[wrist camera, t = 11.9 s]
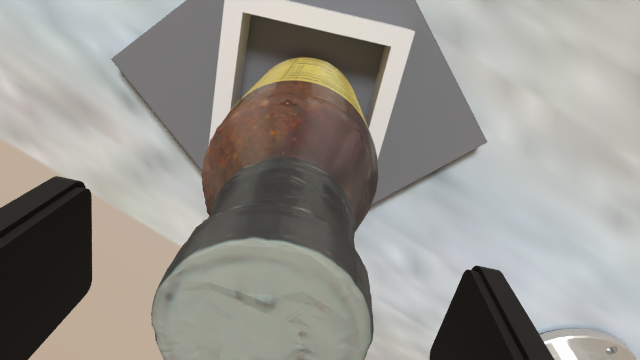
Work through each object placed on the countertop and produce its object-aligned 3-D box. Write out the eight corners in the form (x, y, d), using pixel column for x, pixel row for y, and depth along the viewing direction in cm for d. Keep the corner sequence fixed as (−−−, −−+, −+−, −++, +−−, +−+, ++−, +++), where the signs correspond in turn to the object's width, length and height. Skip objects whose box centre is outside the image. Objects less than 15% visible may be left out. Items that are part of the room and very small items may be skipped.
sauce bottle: (304, 169, 27) (246, 504, 9) (236, 100, 26) (-4, 346, 7) (380, 104, 25) (497, 366, 7) (312, 25, 24) (242, 109, 5)
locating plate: (481, 136, 27) (505, 158, 23) (275, 248, 31) (266, 283, 28) (349, -122, 22) (352, -148, 18) (120, 56, 26) (83, 66, 22)
